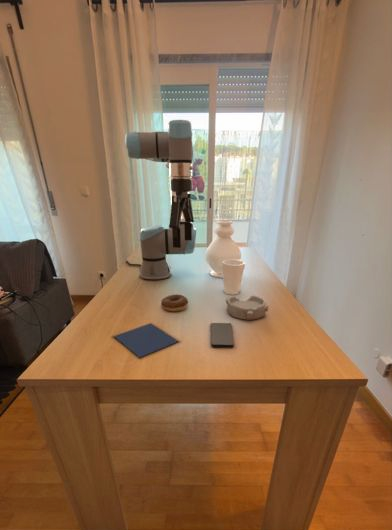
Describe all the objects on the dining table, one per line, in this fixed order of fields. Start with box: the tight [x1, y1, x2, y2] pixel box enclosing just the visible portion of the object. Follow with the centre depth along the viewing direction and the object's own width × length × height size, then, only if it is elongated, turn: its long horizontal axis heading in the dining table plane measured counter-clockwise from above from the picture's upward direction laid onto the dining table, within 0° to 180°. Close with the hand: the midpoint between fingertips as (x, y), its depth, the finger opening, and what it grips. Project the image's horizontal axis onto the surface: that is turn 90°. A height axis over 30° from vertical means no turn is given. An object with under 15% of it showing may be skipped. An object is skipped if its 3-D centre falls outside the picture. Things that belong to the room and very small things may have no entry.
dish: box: [225, 295, 269, 321], centre depth 105 cm, size 14×14×5 cm
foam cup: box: [222, 259, 246, 295], centre depth 121 cm, size 10×9×13 cm
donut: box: [160, 293, 189, 312], centre depth 110 cm, size 11×11×4 cm
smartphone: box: [210, 322, 235, 348], centre depth 91 cm, size 7×1×15 cm
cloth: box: [113, 322, 179, 359], centre depth 90 cm, size 16×14×1 cm
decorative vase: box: [204, 219, 242, 279], centre depth 140 cm, size 18×18×25 cm
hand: (182, 243), depth 108 cm, fingers open, 13 cm apart
